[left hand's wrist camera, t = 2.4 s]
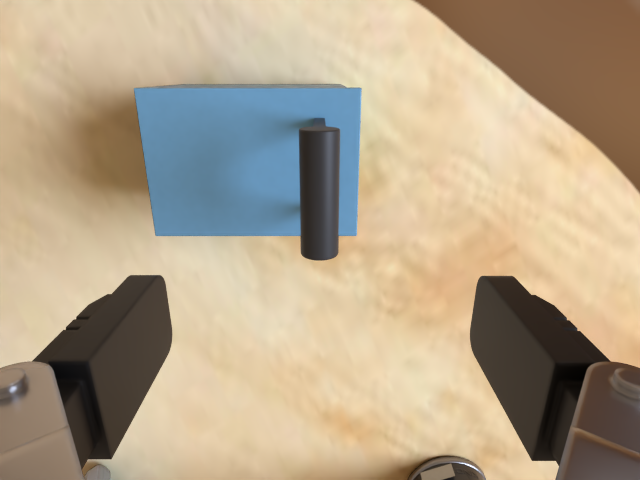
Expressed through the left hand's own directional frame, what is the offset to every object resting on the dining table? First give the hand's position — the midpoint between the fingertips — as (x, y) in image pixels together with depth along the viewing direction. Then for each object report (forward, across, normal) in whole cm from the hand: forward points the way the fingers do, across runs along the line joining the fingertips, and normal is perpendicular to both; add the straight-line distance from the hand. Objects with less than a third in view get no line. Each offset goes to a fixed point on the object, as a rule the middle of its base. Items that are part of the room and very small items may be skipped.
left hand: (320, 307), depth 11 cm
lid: (+19, +4, 0) cm, 19 cm away
